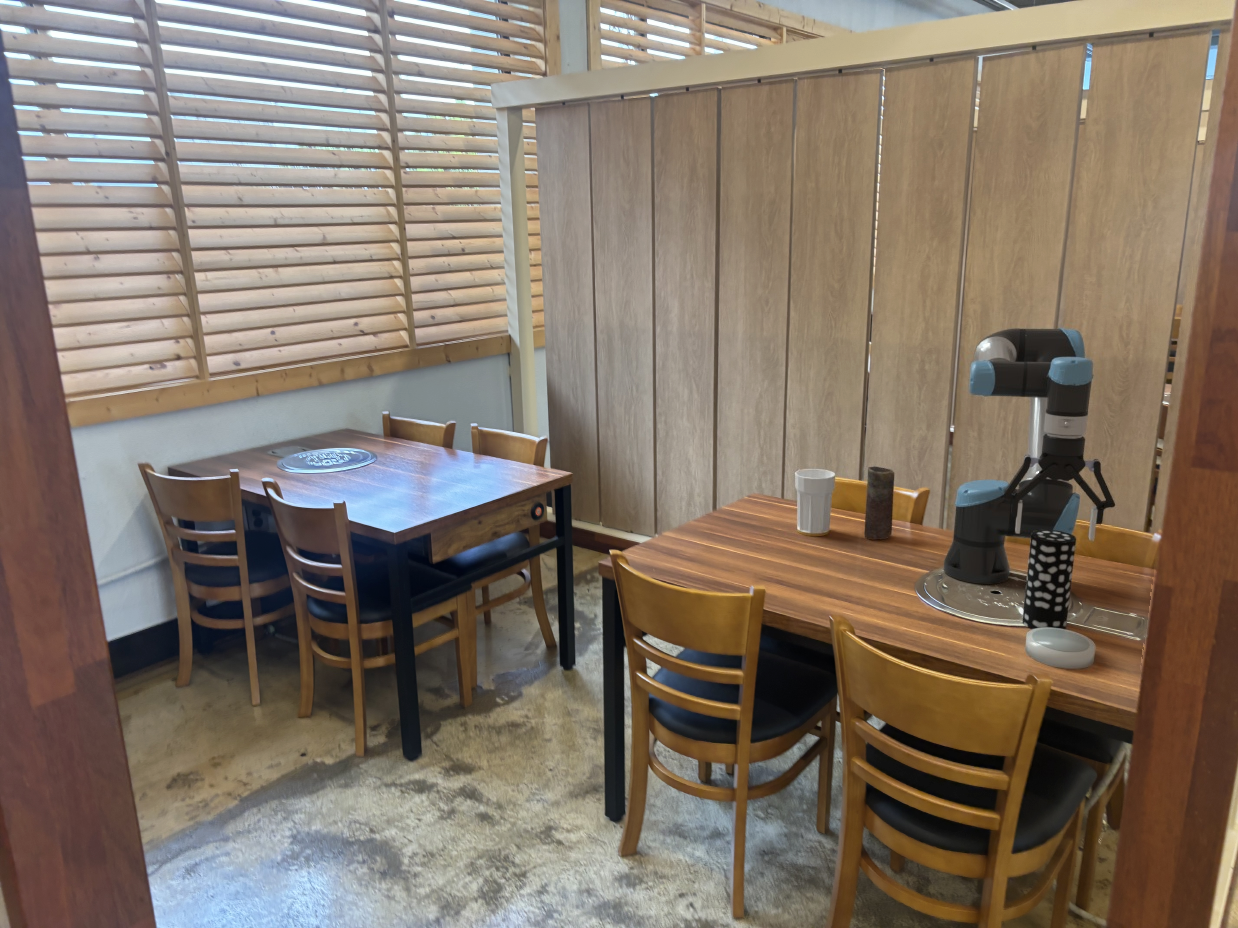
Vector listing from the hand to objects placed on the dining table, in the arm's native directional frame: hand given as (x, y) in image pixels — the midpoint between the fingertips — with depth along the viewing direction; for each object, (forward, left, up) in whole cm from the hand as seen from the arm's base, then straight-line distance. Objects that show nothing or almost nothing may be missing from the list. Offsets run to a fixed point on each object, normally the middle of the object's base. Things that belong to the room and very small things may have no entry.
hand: (1053, 535), depth 171 cm
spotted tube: (0, 0, -20) cm, 20 cm away
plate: (+2, -14, -20) cm, 24 cm away
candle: (-40, +47, -20) cm, 65 cm away
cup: (-58, +46, -20) cm, 77 cm away
